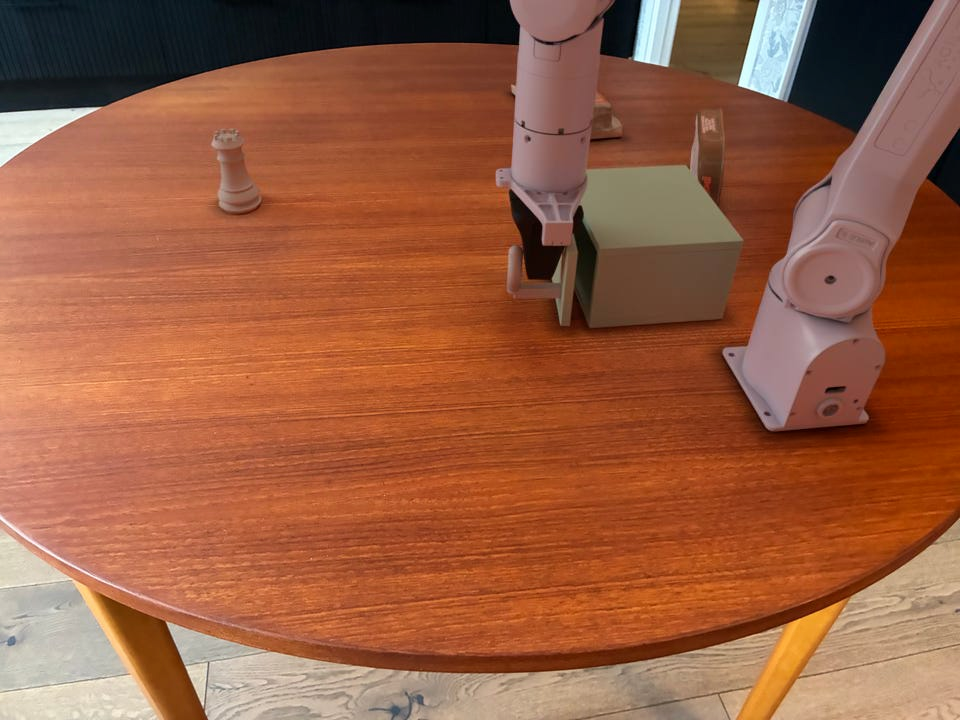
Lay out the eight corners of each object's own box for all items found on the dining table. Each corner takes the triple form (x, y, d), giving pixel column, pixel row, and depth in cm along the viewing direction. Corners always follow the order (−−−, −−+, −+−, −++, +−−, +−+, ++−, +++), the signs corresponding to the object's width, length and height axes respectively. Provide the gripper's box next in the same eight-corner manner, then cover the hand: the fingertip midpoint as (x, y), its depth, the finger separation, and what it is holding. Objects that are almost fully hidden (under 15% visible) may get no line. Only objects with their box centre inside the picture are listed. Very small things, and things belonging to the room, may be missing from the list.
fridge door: (506, 326, 65) (510, 252, 60) (499, 242, 76) (501, 173, 71) (569, 326, 65) (578, 252, 60) (553, 242, 76) (559, 173, 71)
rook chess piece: (210, 208, 81) (193, 136, 75) (239, 191, 84) (224, 121, 78) (242, 219, 79) (227, 146, 74) (271, 201, 82) (258, 129, 77)
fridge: (589, 328, 65) (600, 248, 60) (555, 244, 76) (562, 170, 71) (722, 319, 67) (744, 240, 62) (671, 237, 77) (685, 164, 72)
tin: (715, 230, 79) (733, 154, 73) (684, 227, 79) (700, 150, 74) (710, 167, 90) (726, 97, 85) (683, 164, 90) (697, 94, 85)
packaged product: (629, 101, 93) (552, 107, 91) (624, 138, 96) (549, 146, 94) (579, 53, 106) (511, 58, 104) (576, 87, 109) (509, 93, 107)
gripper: (493, 82, 61) (487, 230, 70) (504, 162, 50) (496, 327, 58) (580, 83, 61) (564, 230, 70) (611, 163, 50) (587, 326, 59)
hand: (538, 274), depth 64 cm, fingers closed, pressing on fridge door
